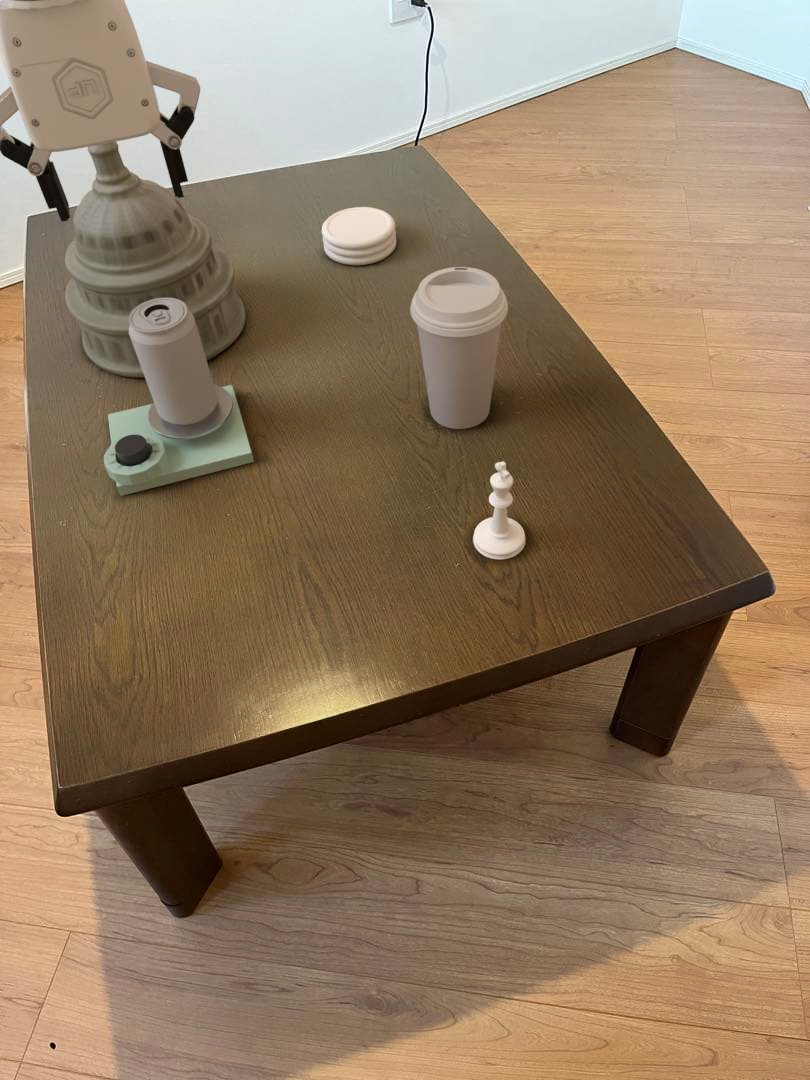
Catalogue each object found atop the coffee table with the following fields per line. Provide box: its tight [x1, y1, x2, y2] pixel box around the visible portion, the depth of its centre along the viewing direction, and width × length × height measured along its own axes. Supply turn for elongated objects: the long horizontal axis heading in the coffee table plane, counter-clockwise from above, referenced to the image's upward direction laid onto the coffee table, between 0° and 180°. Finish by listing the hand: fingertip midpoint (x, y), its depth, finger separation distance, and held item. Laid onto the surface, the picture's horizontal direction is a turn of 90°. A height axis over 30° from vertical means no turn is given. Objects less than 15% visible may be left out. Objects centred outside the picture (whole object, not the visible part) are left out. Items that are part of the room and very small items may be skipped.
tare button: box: [115, 434, 150, 466], centre depth 85 cm, size 3×3×2 cm
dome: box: [64, 141, 246, 378], centre depth 95 cm, size 20×25×20 cm
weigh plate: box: [148, 383, 233, 439], centre depth 89 cm, size 9×9×1 cm
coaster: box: [321, 206, 397, 266], centre depth 113 cm, size 10×10×4 cm
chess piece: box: [472, 460, 526, 561], centre depth 75 cm, size 5×5×10 cm
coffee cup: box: [409, 266, 509, 430], centre depth 85 cm, size 10×10×15 cm
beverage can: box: [129, 298, 217, 425], centre depth 84 cm, size 6×6×12 cm
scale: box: [103, 384, 255, 497], centre depth 89 cm, size 14×12×3 cm
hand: (122, 202), depth 71 cm, fingers open, 9 cm apart
